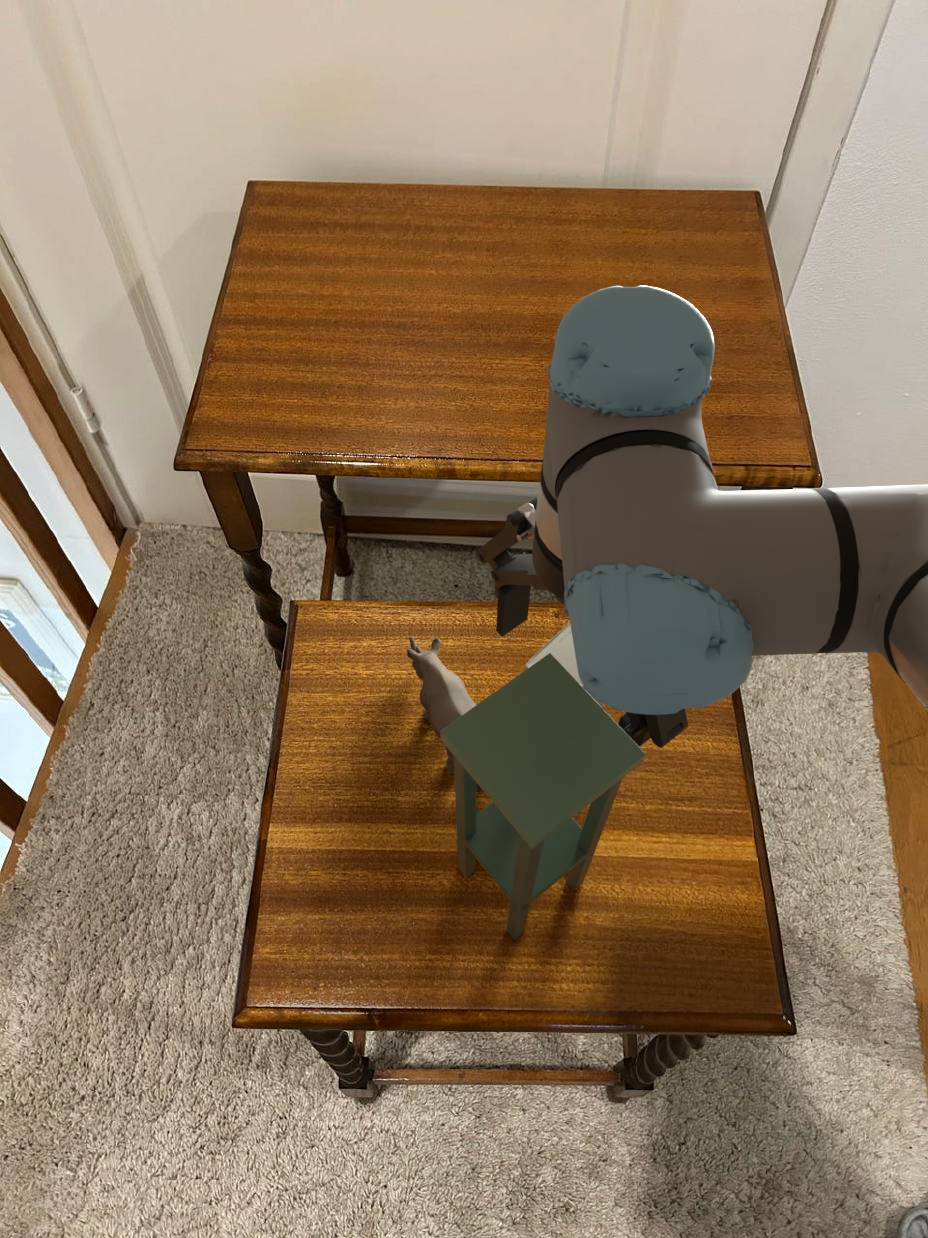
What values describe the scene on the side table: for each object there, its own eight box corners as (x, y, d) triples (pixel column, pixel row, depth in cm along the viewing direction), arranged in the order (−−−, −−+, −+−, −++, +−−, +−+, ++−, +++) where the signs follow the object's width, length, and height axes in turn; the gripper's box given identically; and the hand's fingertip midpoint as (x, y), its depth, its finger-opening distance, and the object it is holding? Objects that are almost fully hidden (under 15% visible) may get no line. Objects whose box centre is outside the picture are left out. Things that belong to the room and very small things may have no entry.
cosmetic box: (564, 683, 82) (578, 611, 72) (603, 716, 80) (623, 647, 70) (515, 730, 80) (522, 662, 69) (553, 764, 78) (566, 700, 68)
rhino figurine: (435, 643, 84) (433, 608, 79) (502, 774, 78) (504, 745, 73) (393, 660, 83) (388, 626, 78) (457, 794, 77) (456, 766, 72)
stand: (583, 883, 73) (631, 756, 51) (514, 940, 71) (533, 833, 49) (525, 815, 76) (548, 667, 54) (457, 868, 74) (452, 736, 52)
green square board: (642, 762, 52) (646, 753, 51) (532, 850, 49) (533, 843, 48) (548, 662, 55) (550, 652, 54) (440, 739, 52) (439, 730, 51)
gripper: (799, 633, 52) (713, 772, 70) (513, 376, 62) (503, 556, 80) (703, 709, 50) (640, 833, 68) (423, 429, 60) (434, 602, 78)
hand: (566, 683), depth 74 cm, fingers open, 13 cm apart
